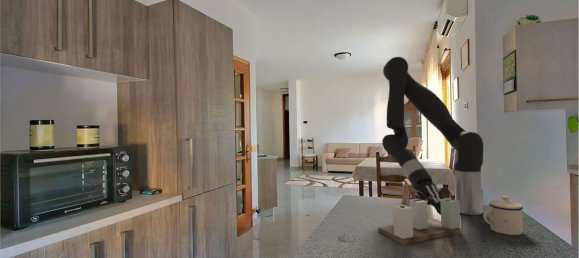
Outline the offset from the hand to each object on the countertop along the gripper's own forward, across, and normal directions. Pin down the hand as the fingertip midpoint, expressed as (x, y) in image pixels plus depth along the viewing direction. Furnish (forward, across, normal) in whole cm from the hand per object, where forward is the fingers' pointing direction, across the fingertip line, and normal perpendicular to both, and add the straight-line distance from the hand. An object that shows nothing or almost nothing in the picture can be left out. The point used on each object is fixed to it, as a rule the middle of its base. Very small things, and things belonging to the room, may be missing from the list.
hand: (443, 213), depth 98 cm
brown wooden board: (+3, -10, +5) cm, 11 cm away
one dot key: (+4, -20, +1) cm, 20 cm away
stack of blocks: (-14, +11, +22) cm, 29 cm away
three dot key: (+2, -10, +3) cm, 11 cm away
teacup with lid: (+10, +16, -2) cm, 19 cm away
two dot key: (+4, 0, +1) cm, 4 cm away
